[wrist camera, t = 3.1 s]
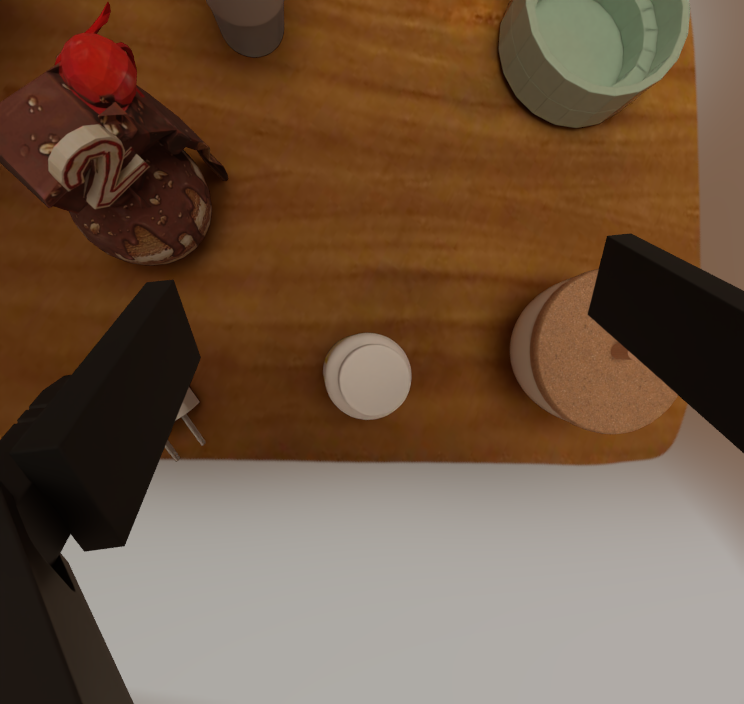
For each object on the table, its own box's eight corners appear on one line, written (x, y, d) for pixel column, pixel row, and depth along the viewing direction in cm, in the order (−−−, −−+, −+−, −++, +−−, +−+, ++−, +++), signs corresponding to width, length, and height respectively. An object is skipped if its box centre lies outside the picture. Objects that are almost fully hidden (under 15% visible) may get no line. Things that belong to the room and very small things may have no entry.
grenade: (177, 125, 31) (42, -78, 16) (259, 207, 32) (205, 87, 17) (80, 216, 30) (-155, 92, 15) (167, 297, 31) (25, 255, 16)
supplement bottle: (386, 409, 33) (414, 437, 23) (317, 399, 32) (316, 423, 23) (398, 340, 33) (430, 340, 23) (329, 329, 32) (332, 323, 23)
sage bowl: (473, 88, 33) (499, 43, 28) (530, -52, 34) (566, -120, 29) (604, 155, 35) (652, 124, 30) (658, 21, 35) (714, -32, 30)
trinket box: (550, 255, 34) (635, 223, 25) (636, 347, 36) (748, 349, 26) (461, 350, 34) (515, 354, 24) (551, 441, 35) (635, 477, 25)
